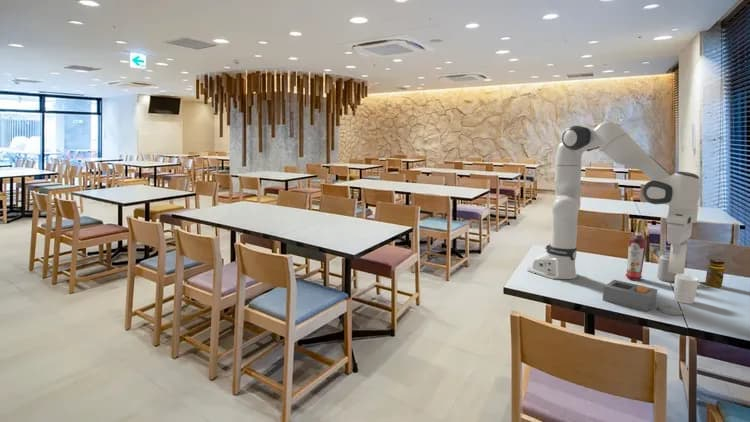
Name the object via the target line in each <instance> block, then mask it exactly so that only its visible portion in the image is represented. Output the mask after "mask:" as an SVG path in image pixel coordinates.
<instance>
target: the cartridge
mask: <svg viewBox="0 0 750 422" xmlns="http://www.w3.org/2000/svg"><path fill="white" fill-rule="evenodd" d="M686 241H687V240H686ZM686 241H684V242H682V243H681V244H680V246H679V249H680V250H679V254H673V247H672V244H670V250H669V254H670V257H669V266H668V272H670V273H675V274H677V275H685V267H686V266H685V265H686V259H687V258H686V257H687V249H688V244H687V243H686Z"/></svg>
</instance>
